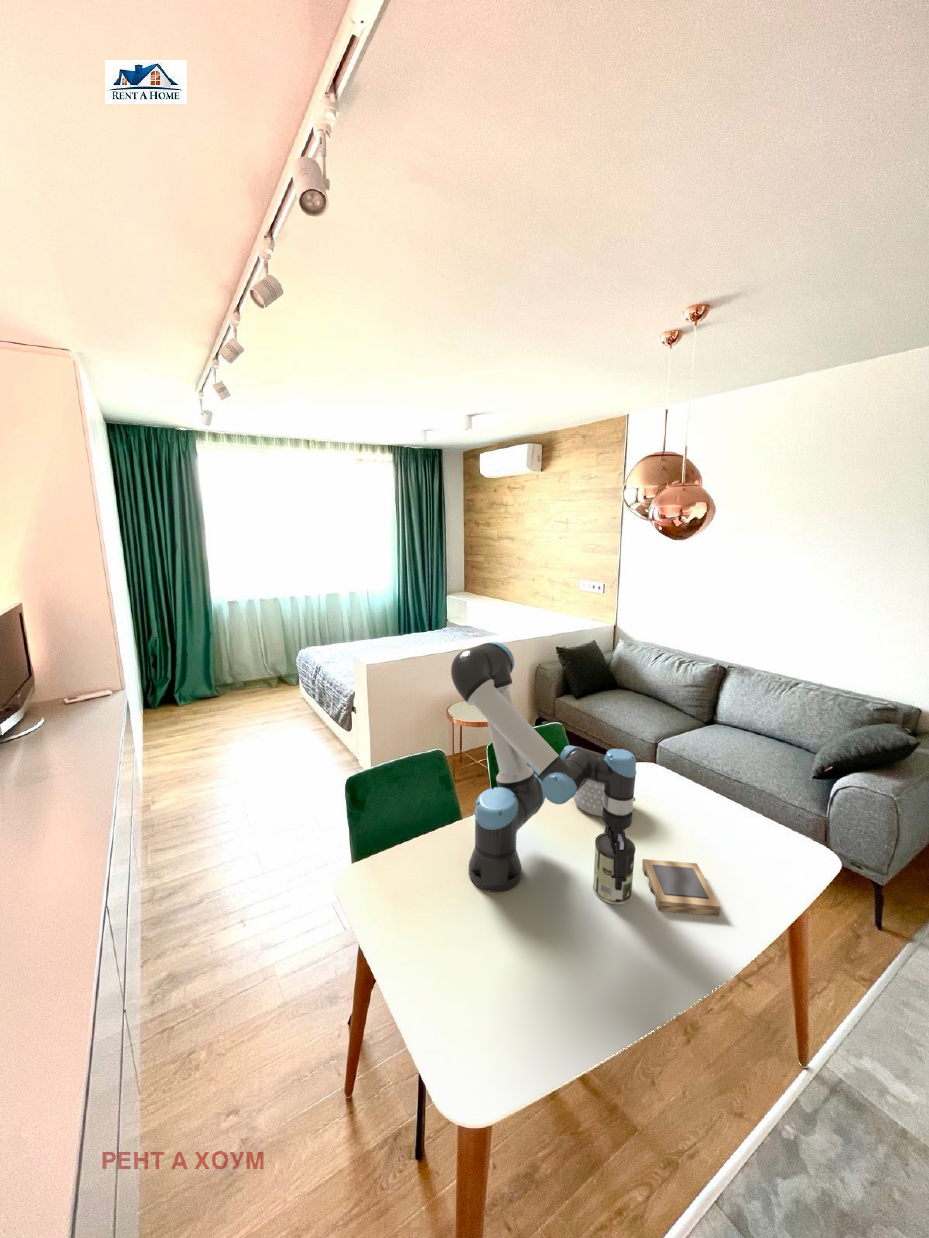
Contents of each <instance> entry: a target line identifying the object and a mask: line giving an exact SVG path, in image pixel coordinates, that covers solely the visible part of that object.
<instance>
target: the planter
mask: <svg viewBox="0 0 929 1238" xmlns="http://www.w3.org/2000/svg"><path fill="white" fill-rule="evenodd" d="M603 792H604V784H601V783H597V782H594V781H591V780H588V781H587V782H586V783H585V784H584V785H583V786H582V787H581V788H580V789H579V790H578V791H577V792H576V794H575V796H574V797H573V801H574V803H575V805H576V806H577V807H578V808H580V810H583V812H586V813H587V814H590V815H591V816H595V817H599V818H600V817H601V818H602V811H603Z"/></svg>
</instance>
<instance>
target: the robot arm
mask: <svg viewBox="0 0 929 1238" xmlns="http://www.w3.org/2000/svg"><path fill="white" fill-rule="evenodd" d="M450 667H451V668H450V675H451V679H452V683H453V685H454V687H455V689H456V691H457V693H458V694H459V695H460V697H462V699H463V701H465V702H466V704H467V705H469V706H470V705H471V706H474V707H475V708H477V710H478V711H479V712H480V713H481V715H483V717H484V718H485V719H486V721H487V725H488V729H489V735H490V737H491V742H492V747H493V750H494V754H495V758H496V763H497V766H498V767H497V768H498V774H497V775H496V777H495V779H496V784H497V786H496V787H495V786H494V787H493V788H491V787H490V788H488V789H486V790H483V791H482V792H481V793H480V794H479V795H478V797H477V799H476V801H475V809H474V818H475V823H474V824H475V826H474V828H475V829H474V833H475V834H474V842H475V843H474V849H473V850H472V853H471V857H470V858H469V862H468V876H470V877H469V879H470V878H471V879H472V880H473V882H474V883H476V884H477V885H478V886H480V887H482V888H483V889H482V888H481V889H482V890H484V889H486V890H485V891H487V890H490V891H489V892H495V893H496V892H506V891H509V890H512V889H513V888H515V887H516V886H517V885H519V883H520V881H521V879H522V871H523V870H522V863H521V860H520V857H519V853H518V851H517V834H518V831H519V830H520V829H521V828H522V827H523V826H524V825H525V824H526V823H527V822H528V821H529V820H530V819H531V818H532V817H533V816H535V814H536V815H537V813H538V812H539V811H540V809H541V808H542V806H543V805H544V803H545V801H546V800H547V801H549V802H550V803H552V804H555V805H563V804H566V803H567V802H569V800H571V799H572V798H573V799H574V796H575V794H576V792H577V791H578V790H579V789H580V788H581V787H582V786H583V785H584V784H585V783H586V782H587V781H588V780H591V781H594V782H597V783H601V784H604V792H603V811H602V817H601V819H602V822H603V823H604V824H605V825H604V831H603V833H607V835H608V837H610V844H611V848H612V849H613V854H614V855H615V859H614V866H613V868H614V874H612V875H611V878H612V888H611V899H621V900H622V895H623V882H626V880H627V879H626V850H627V842H626V841H625V837H626V831H625V830H626V829H627V830H628V829H629V828H630V827H631V826H632V823H633V815H634V814H633V810H634V802H636V797H635V786H636V775H637V768H636V767H637V758H636V757H635V755H634V754H633V753H632V752H631V751H629V750H627V749H622V748H620V749H619V748H610V749H609V750H607V751H606V754H603V753H601V752H600V753H599V752H596V751H594V750H590V749H586V748H583V747H581V746H575V745H570V744H569V745H566V746H565V747H564V748H563V749H562V751H561V753H560V755H559V754H558V753H557V752H556V750H554V748H552V746H550V744H549V742H547V741H546V740H545V739H544V738H543V736H541V735H540V734H539V732H538V731H536V729H535V728H534V727H533V726H532V725H531V724H530V722H528V721H527V720H526V719H525V718H524V716H523V715H521V713H520V712H519V711H518V710H517V709H516V708H515V707H514V706H513V705H514V704H513V701H512V696H511V692H510V688H511V686H512V685H513V680H512V679H513V678H512V676H511V673H512V672H513V670H514V668H515V658H514V656H513V653H512V652H511V649H509V648H508V646H506V645H505V644H503V643H502V642H501V643H500V642H498V641H491V642H485V643H481V644H478V645H475V646H473V647H470V648H466V649H463V650H461V651H460V652H459V653H458V654H456V656H455V657H454V658H453V661H452V664H451V666H450ZM545 799H546V800H545ZM613 843H614V844H615V845H613ZM471 879H470V880H471ZM472 880H471V881H472ZM473 882H472V883H473ZM474 883H473V884H474ZM477 885H476V886H477ZM478 886H477V887H478ZM480 887H479V888H480Z"/></svg>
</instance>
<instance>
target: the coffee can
mask: <svg viewBox="0 0 929 1238" xmlns="http://www.w3.org/2000/svg"><path fill="white" fill-rule="evenodd" d="M625 841H626V842H627V850H626V879H627V880H626V882H623V895H622V900H621V899H611V888H612V878H611V875H612V874H614V868H613V866H614V859H615V855H614V854H613V849H612V848H611V844H610V837H608V835H607V833H604V832H602V833H599V834H598V835H597V836H596V837H595V840H594V843H595V844H594V845H595V847H594V862H593V863H594V864H593V865H594V867H593V881H592V890H593V892H594V895H596V896H597V897H598V899H600V900H601V901H602V902H605V903H607V904H610V905H616V906H620V905H625V904H627V903H629V902H630V901H631V900H632V895H633V878H634V866H635V865H634V864H635V854H636V846H635V843H634V842H633V841H632V840H631V839H630V838H629V837H627V836H625ZM613 845H615V844H614V843H613Z"/></svg>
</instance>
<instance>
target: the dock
mask: <svg viewBox="0 0 929 1238" xmlns="http://www.w3.org/2000/svg"><path fill="white" fill-rule="evenodd" d="M641 864H642V866H641V869H642V872H643V876H647V878H648V888H649V891H650V892H651V893H654V894H653V895H654V897H655V902H654V904H655V906H656V909H657V911H661V912H670V913H671V912H673V913H684V914H694V915H704V916H705V915H706V916H715V917H719V916H720V911H721V908H722V906H721V904H720V903H719V901H718V899H717V898H716V895H715V893H714V892H713V890H712V889H711V887H710V885H709V883H708V881H707V879H706V877H705V876H704V873H703V872H702V869H701V868H700V867H699V865H698V863H696V862H695V863H694V862H683V861H671V860H658V859H647V858H643V859H642V862H641Z"/></svg>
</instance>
